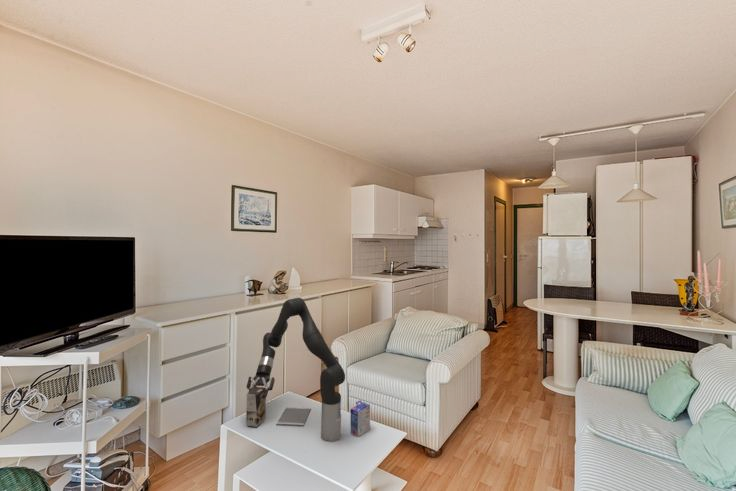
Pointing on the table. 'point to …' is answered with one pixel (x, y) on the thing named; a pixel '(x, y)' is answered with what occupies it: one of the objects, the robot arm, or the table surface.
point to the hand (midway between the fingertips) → (256, 397)
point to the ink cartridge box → (360, 418)
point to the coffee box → (255, 407)
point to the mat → (294, 416)
